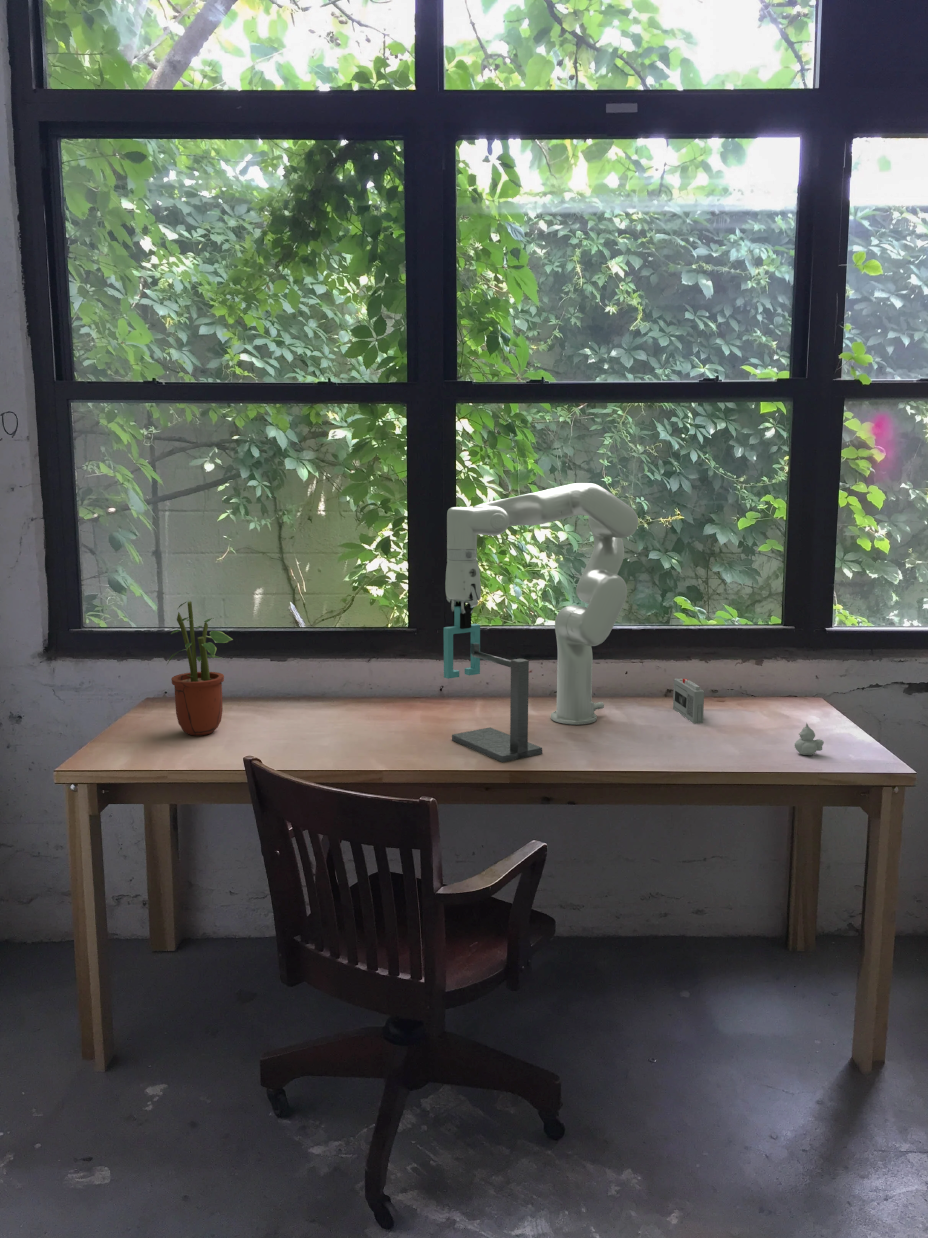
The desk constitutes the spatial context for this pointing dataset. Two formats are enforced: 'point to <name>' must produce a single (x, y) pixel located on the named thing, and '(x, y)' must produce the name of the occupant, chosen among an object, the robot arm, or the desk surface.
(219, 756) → the desk surface
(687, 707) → the cassette player
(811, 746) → the rubber duck
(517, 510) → the robot arm
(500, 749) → the hook stand
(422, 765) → the desk surface
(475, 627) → the teal link
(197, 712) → the potted plant
